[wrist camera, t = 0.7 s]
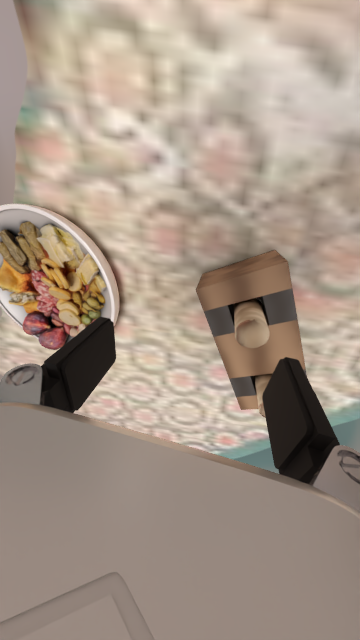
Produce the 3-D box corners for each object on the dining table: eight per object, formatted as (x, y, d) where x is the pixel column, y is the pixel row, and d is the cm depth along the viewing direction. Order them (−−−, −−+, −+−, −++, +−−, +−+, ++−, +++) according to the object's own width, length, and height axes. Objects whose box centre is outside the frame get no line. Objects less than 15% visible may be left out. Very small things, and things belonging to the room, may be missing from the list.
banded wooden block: (274, 249, 30) (287, 261, 23) (297, 372, 40) (311, 405, 33) (202, 274, 35) (195, 289, 28) (239, 379, 45) (241, 409, 38)
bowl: (-20, 191, 37) (-76, 186, 30) (127, 221, 33) (101, 224, 27) (22, 322, 52) (-8, 338, 46) (125, 351, 49) (109, 374, 42)
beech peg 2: (275, 363, 34) (285, 400, 27) (279, 380, 36) (290, 419, 29) (251, 367, 35) (256, 403, 29) (256, 382, 37) (262, 420, 30)
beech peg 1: (257, 292, 29) (266, 317, 22) (263, 315, 30) (272, 345, 24) (230, 299, 30) (231, 325, 24) (237, 321, 32) (239, 350, 25)
